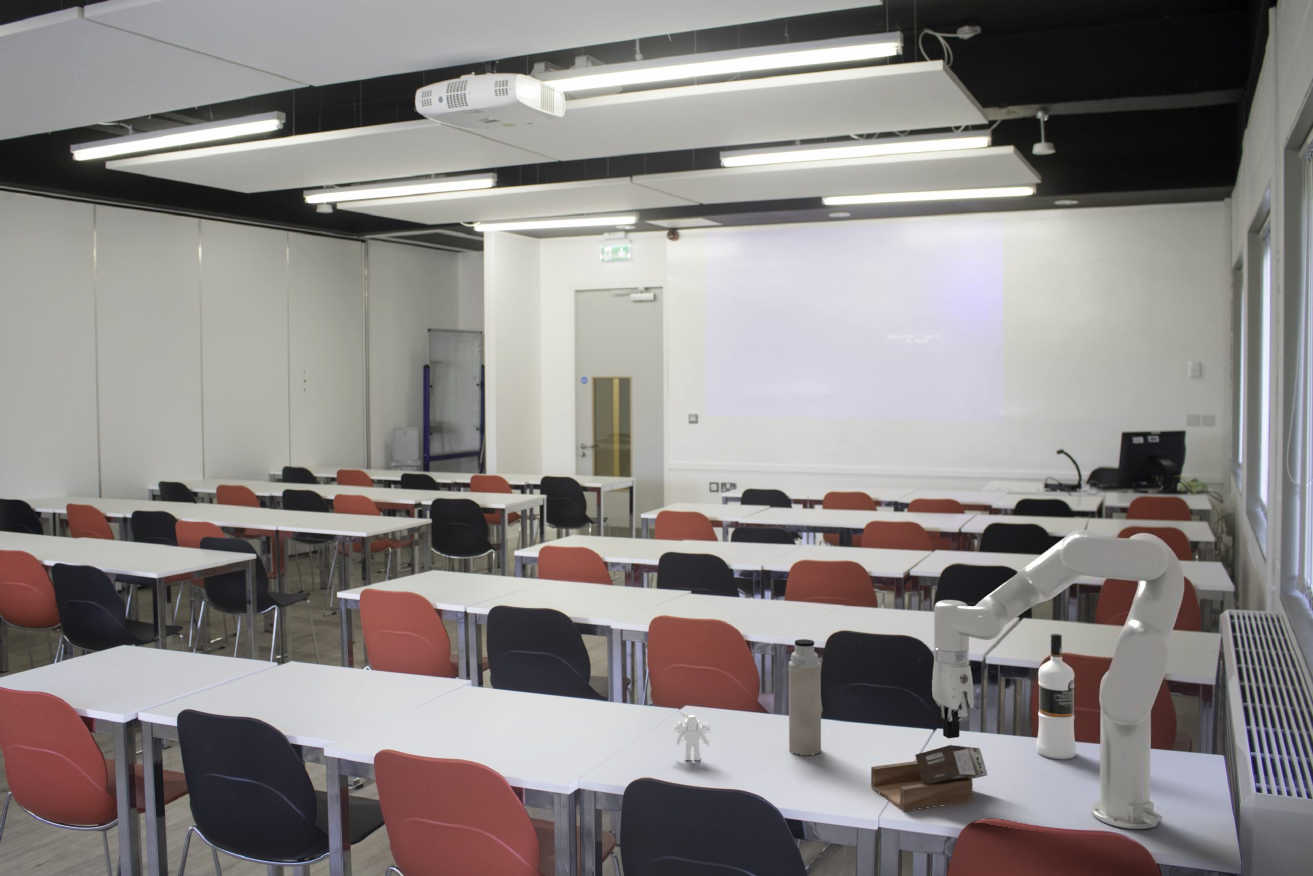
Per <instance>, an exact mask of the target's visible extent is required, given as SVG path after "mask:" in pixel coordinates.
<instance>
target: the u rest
mask: <svg viewBox="0 0 1313 876" xmlns="http://www.w3.org/2000/svg"><path fill="white" fill-rule="evenodd" d="M870 769H871V771H870V775H871V776H870V777H871V778H870V779H871V781H870V782H871V783H870V785H871V786H870V787H873V788H874V789H875V790H877V791H878V792H880V793H881V794H882V795H884V796H885V797H886V798H887V799H888V800H887V799H886V798H885V797H884V798H885V799H886V800H887V801H888V802H890V803H891V804H893V805H894V804H895V805H894V806H896V807H897V808H898V807H899V810H901V809H902V810H903V811H902V810H901V811H902V812H904V811H905V812H908V811H907V810H912V811H914V810H913V809H919V808H926V809H928V808H927V807H933V806H939V807H942V806H941V805H946V806H951V805H950V804H953V805H959V803H960V804H966V803H972V802H973V779H970V778H962V779H955V780H948V781H940V782H933V783H923V782H922V779H921V775H920V771H919V767H918V763H917V760H914V761H906V762H900V763H891V764H883V765H875V766H871V768H870ZM874 789H873V790H874ZM875 790H874V791H875ZM877 791H876V792H877ZM878 792H877V793H878ZM881 794H880V795H881ZM882 795H881V796H882ZM933 808H934V807H933ZM919 810H920V809H919Z"/></svg>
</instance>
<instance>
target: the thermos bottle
mask: <svg viewBox="0 0 1313 876" xmlns="http://www.w3.org/2000/svg"><path fill="white" fill-rule="evenodd" d="M794 645H795V646H794V651H793V652H791V655H790V656H791V657H790V661H788V749H789V752H790V751H791V752H790V753H792V752H793V753H795V754H794V755H797V754H800V755H799V756H802V755H812V756H814V755H813V754H817V753H819V752H820V751H821V752H822V711H821V710H822V697H821V694H822V693H821V690H822V689H821V688H822V687H821V686H822V685H821V683H822V680H821V677H822V675H821V674H822V673H821V670H822V669H821V667H822V666H821V665H822V664H821V662H820V661H819V660H818V659H819V655H818V653H817V652H815V646H814V645H815V641H814V640H812V639H807V638H806V639H805V638H801V639H796V640H794ZM821 752H820V753H821ZM793 753H792V754H793ZM820 753H819V754H820ZM817 755H818V754H817Z"/></svg>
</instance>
